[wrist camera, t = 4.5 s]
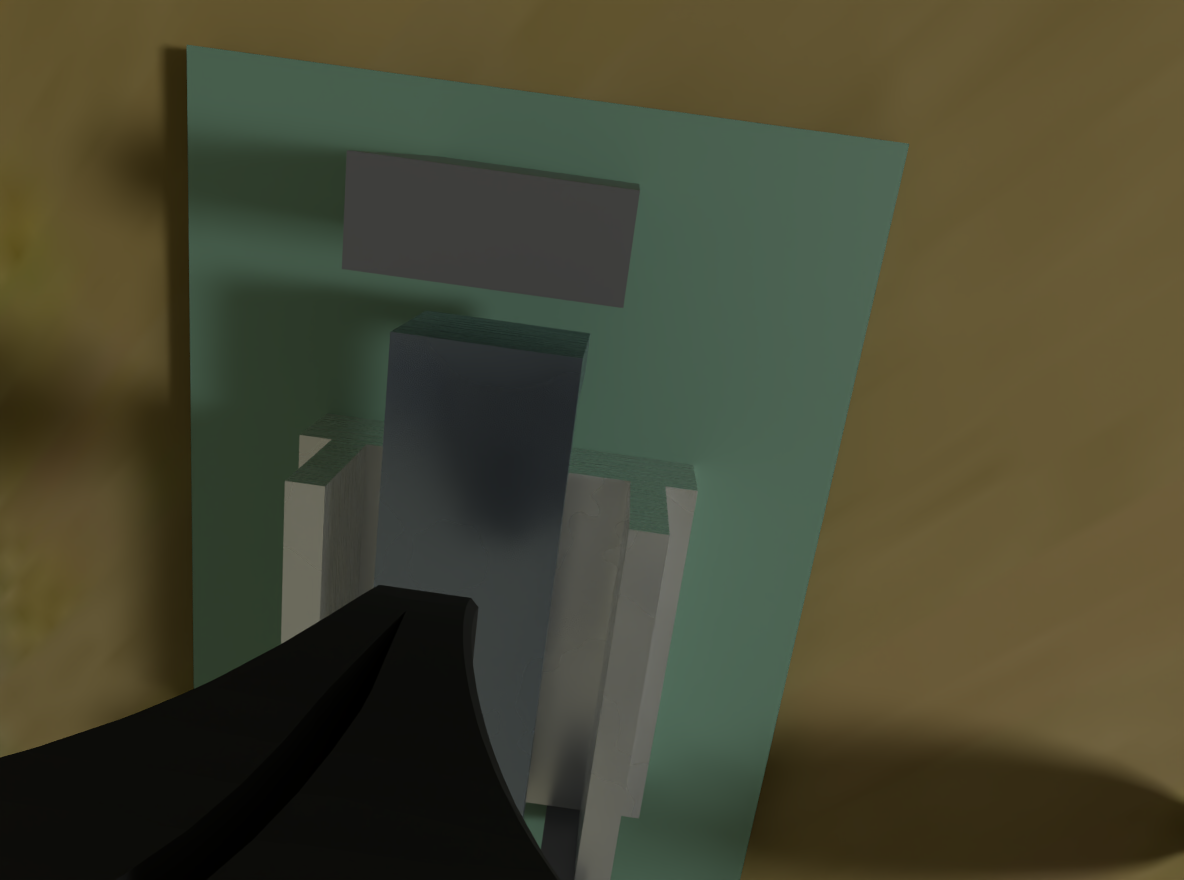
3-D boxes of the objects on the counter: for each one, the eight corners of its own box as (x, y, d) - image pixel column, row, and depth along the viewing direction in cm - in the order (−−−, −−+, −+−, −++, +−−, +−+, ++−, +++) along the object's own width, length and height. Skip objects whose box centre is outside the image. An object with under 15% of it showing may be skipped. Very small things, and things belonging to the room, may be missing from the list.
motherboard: (722, 921, 23) (724, 946, 23) (210, 846, 23) (195, 869, 23) (897, 144, 17) (908, 143, 17) (206, 50, 17) (186, 45, 17)
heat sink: (638, 771, 21) (639, 904, 17) (314, 724, 21) (243, 847, 17) (693, 464, 19) (707, 540, 15) (327, 413, 19) (247, 475, 15)
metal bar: (516, 891, 19) (497, 1001, 17) (383, 872, 19) (343, 978, 17) (590, 333, 16) (582, 362, 13) (426, 310, 16) (384, 335, 13)
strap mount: (585, 821, 22) (568, 1035, 16) (355, 788, 22) (263, 990, 16) (684, 189, 17) (706, 200, 12) (392, 150, 17) (280, 141, 12)
